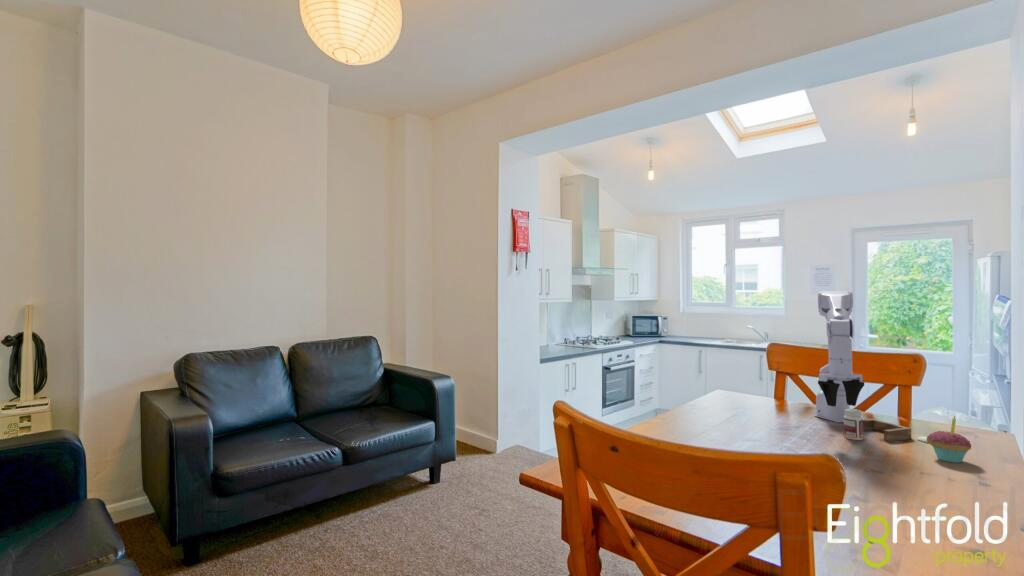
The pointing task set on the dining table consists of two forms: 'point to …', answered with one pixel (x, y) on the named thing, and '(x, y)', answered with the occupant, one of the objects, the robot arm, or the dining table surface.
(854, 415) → the pill bottle
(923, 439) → the disc
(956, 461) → the cupcake
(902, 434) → the walnut corral
